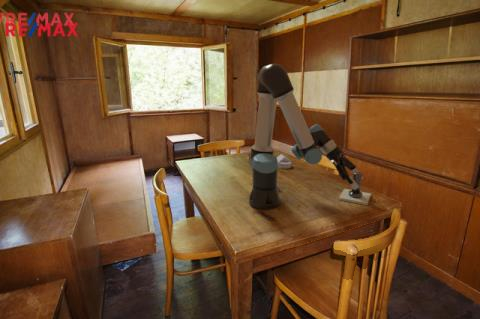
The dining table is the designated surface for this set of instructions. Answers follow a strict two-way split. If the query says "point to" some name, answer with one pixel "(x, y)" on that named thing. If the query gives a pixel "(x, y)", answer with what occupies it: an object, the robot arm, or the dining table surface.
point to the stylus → (357, 178)
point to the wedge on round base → (283, 162)
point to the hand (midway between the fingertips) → (359, 184)
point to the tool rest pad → (362, 200)
